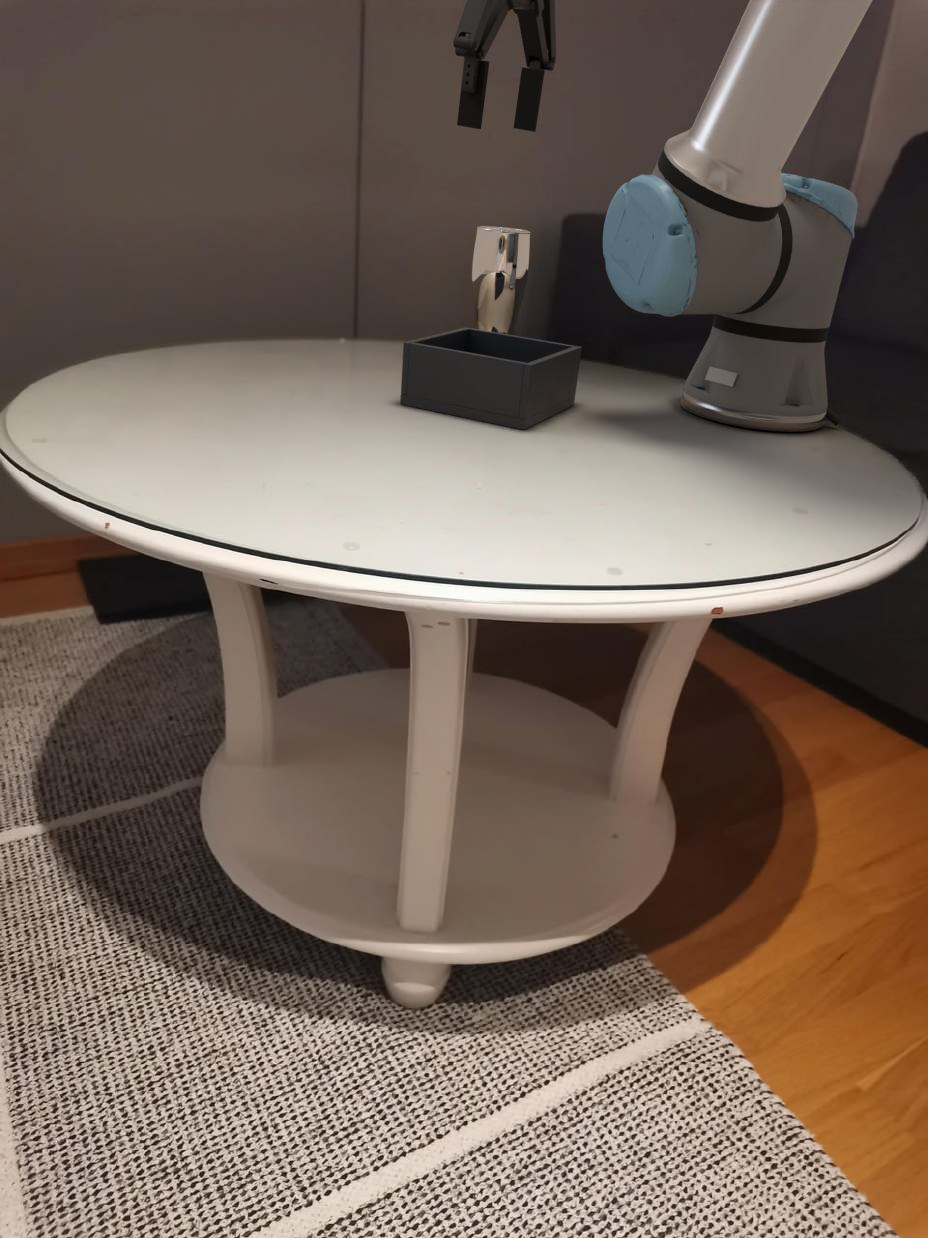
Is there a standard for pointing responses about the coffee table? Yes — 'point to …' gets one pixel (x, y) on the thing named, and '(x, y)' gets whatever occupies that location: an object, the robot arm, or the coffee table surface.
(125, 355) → the coffee table surface
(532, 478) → the coffee table surface
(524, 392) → the bin
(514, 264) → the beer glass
